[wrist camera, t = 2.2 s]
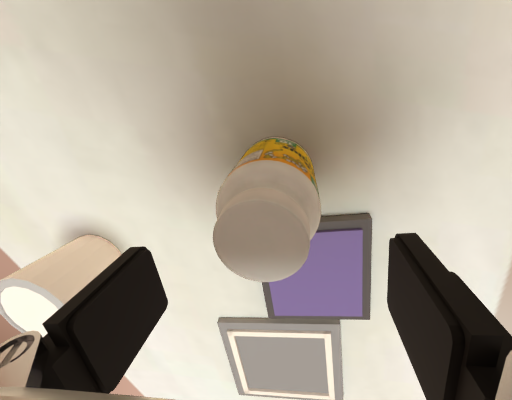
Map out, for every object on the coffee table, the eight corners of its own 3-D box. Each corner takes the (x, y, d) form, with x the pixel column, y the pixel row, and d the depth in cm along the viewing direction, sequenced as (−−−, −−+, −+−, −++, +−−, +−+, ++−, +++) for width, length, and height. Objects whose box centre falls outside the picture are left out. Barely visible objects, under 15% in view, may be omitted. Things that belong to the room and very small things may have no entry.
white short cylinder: (144, 272, 25) (92, 334, 19) (100, 292, 27) (40, 353, 21) (98, 218, 23) (22, 267, 17) (54, 244, 25) (-26, 295, 19)
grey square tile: (219, 317, 26) (216, 325, 25) (339, 319, 24) (340, 327, 23) (240, 389, 31) (238, 397, 30) (342, 396, 28) (343, 405, 27)
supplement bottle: (228, 162, 19) (169, 224, 10) (286, 119, 17) (275, 151, 8) (268, 215, 20) (246, 310, 12) (327, 181, 18) (353, 264, 10)
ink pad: (253, 221, 21) (250, 228, 20) (368, 213, 19) (373, 221, 18) (269, 310, 24) (268, 321, 23) (367, 311, 23) (370, 322, 22)
